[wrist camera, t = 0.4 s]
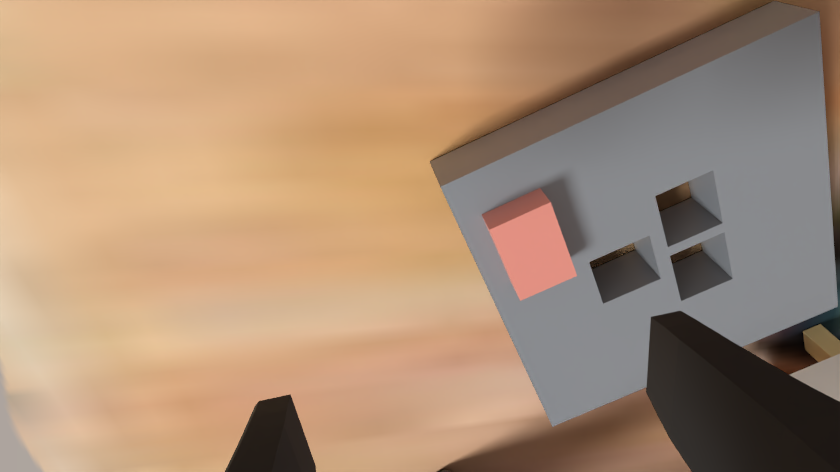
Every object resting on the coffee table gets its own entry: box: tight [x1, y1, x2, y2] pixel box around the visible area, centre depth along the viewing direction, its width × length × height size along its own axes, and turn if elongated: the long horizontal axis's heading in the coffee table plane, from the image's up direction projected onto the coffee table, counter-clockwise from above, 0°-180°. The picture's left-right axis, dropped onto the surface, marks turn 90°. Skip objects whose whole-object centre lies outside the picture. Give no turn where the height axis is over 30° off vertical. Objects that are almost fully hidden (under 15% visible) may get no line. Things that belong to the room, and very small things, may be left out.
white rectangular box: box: [789, 324, 840, 402], centre depth 25 cm, size 4×5×6 cm
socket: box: [430, 1, 838, 427], centre depth 21 cm, size 12×12×3 cm
